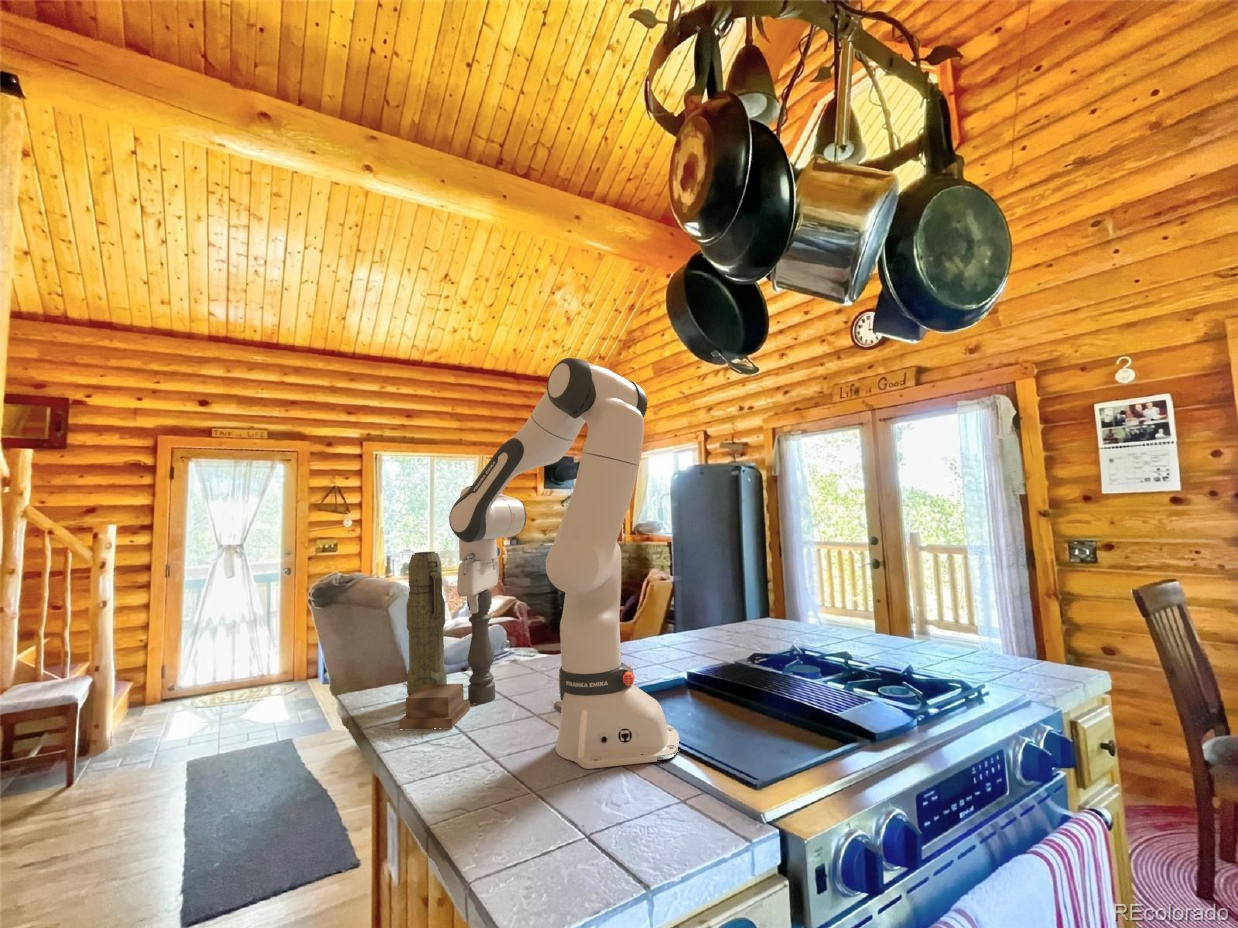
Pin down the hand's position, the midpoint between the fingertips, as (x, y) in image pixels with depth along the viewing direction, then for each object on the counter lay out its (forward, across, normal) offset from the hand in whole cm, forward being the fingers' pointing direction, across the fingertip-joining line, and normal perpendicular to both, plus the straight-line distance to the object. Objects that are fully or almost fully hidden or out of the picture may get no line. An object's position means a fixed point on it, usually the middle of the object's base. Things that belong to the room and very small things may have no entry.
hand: (479, 610), depth 132 cm
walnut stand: (+21, -12, +6) cm, 25 cm away
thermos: (+21, 0, +13) cm, 25 cm away
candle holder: (+21, 0, 0) cm, 21 cm away
